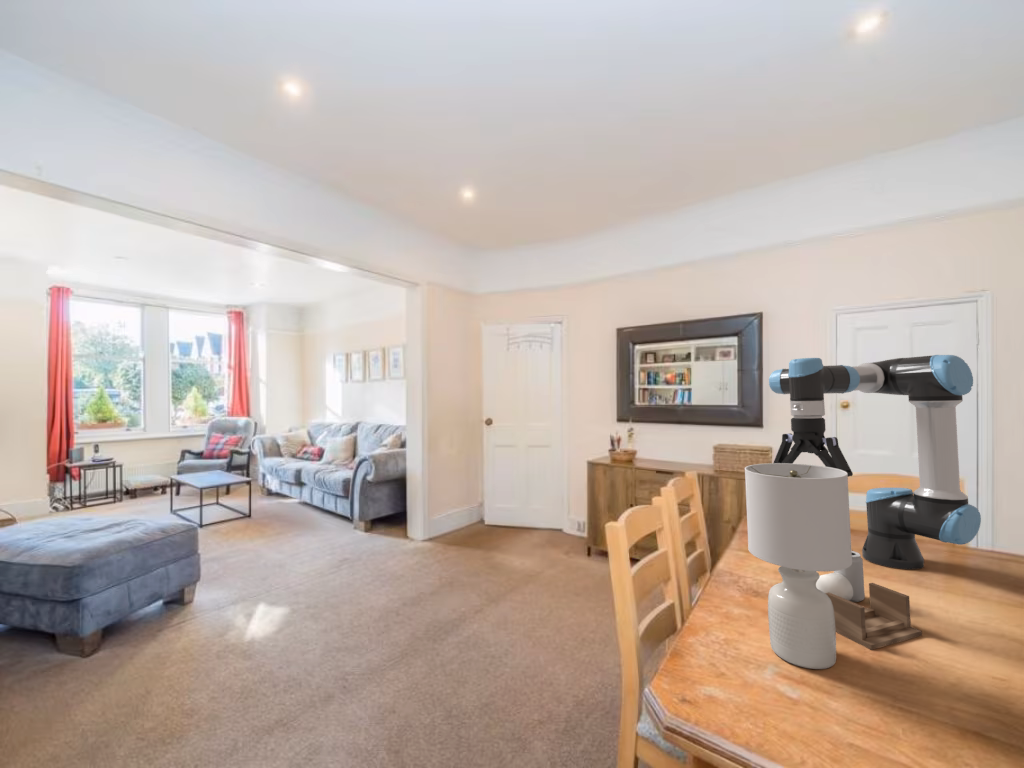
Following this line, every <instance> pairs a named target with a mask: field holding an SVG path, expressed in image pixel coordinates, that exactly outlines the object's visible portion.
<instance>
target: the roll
mask: <svg viewBox="0 0 1024 768" xmlns="http://www.w3.org/2000/svg"><path fill="white" fill-rule="evenodd" d="M819 575H820V574H819ZM816 587H817V589H819V590H821V591H823V592H824V593H825V594H826V593H828V592H830V593H832V594H834V595H837V596H839V597H842V598H844V599H846V600H851V599H852V597H853V588H852V586H851V584H850V582H849V581H848V579H847V578H846V577H844V576H843V575H841V574H839V573H834V572H831V573H825V574H821V575H820V577H819V579H818V580H817V582H816Z"/></svg>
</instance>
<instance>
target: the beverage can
mask: <svg viewBox="0 0 1024 768" xmlns="http://www.w3.org/2000/svg"><path fill="white" fill-rule="evenodd" d="M851 551H852V565H851V566H850V567H848V568H846V569H843V570H838V571H833V573H839V574H841V575H843V576H844V577H846V578H847V579H848V581H849V582H850V584H851V586H852V588H853V597H852V599H851V600H849V601H851V602H853V603H858V602H861V601H863V600H865V596H866V595H865V579H864V578H865V577H864V560H863V558H862V556H861V553H859V552H857V551H854V550H851Z"/></svg>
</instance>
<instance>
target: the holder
mask: <svg viewBox="0 0 1024 768" xmlns="http://www.w3.org/2000/svg"><path fill="white" fill-rule="evenodd" d="M868 590H869V591H868V592H869V608H868V607H865V606H863V605H860V604H858V603H857V602H852V601H849V600H846V599H844V598H842V597H839V596H837V595H834V594H832V593H830V592H828V593H826V594H827V595H828V597H829V598H830V599H831V601H832V604H833V608H834V615H835V626H836V634H839V635H841V636H843V637H845V638H847V639H849V640H850V641H853V642H855V643H857V644H859V645H861V646H863V647H865V648H867V649H868V650H876V649H880V648H883V647H887V646H889V645H894V644H896V643H900V642H903V641H904V642H905V641H907V640H910V639H915V638H917V637H922V636H923V633H922V630H920V629H918V628H915V627H913V626H912V624H911V623H912V621H911V604H910V603H911V601H910V595H908V594H905V593H901V592H899V591H896V590H894V589H891V588H888V587H885V586H883V585H880V584H877V583H875V582H870V583H868Z"/></svg>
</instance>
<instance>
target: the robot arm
mask: <svg viewBox="0 0 1024 768" xmlns="http://www.w3.org/2000/svg"><path fill="white" fill-rule="evenodd" d="M768 385H769V388H770V389H771V391H772V392H773V393H775V394H778V395H780V394H781V395H789V396H790V397H789V402H790V403H789V405H790V416H792V418H790V427H791V429H790V431H791V432H792V433H793V434H792V433H783V434H782V435H781V444H780V446H779V448H778V451H777V453H776V456H775V458H774V460H773V462H772V463H788V464H794V462H795V461H796V460H797V459H798V458H799V456H800V455H801V453H808V454H814V455H815V456H817V457H818V458H819V460H820V461H821V462H822V464H823V465H824V466H825V467H831V468H836V469H840V470H843V471H845V472H847V473H848V478H849V477H852V476H853V471H852V469H851V467H850V465H849V463H848V461H847V460H846V458H845V456H844V454H843V452H842V450H841V448H840V446H839V439H838V437H835V436H830V437H826V436H825V432H826V419H825V418H824V416H825V415H826V409H825V407H826V406H825V394H845V393H851V392H853V391H859V392H862V393H864V394H884V395H894V396H895V395H896V396H907V397H908V403H910V404H912V405H913V406H914V407H915V418H916V436H917V439H916V440H917V454H918V455H917V456H918V476H919V478H918V479H919V486H918V488H916V489H915V490H912V489H911V488H905V487H875V488H871V489H868V490H867V492H866V495H865V496H866V497H865V504H866V520H867V521H866V522H867V535H866V538H865V541H864V544H863V547H862V548H861V554H862V557H863V558H862V559H864V560H866V561H868V562H870V563H872V564H876V565H879V566H884V567H886V568H893V569H899V570H919V569H923V568H924V567H925V559H924V556H923V554H922V552H921V550H920V547H919V545H918V543H917V540H916V536H919V537H920V536H921V537H925V538H929V539H931V540H932V539H933V540H936V541H940V542H943V543H949V544H954V545H957V546H959V545H960V546H961V545H966V544H969V543H970V542H972V540H974V539H975V537H976V536H977V535H978V533H979V531H980V528H981V523H982V517H981V513H980V511H979V508H977V507H976V506H974V505H972V504H970V503H969V495H966V493H964V492H963V491H961V483H960V482H961V481H960V480H961V479H960V463H959V461H960V460H959V446H958V445H959V444H958V428H957V427H958V426H957V410H956V407H957V406H958V405H959V404H960V403H962V402H963V396H965V395H967V394H970V392H971V391H972V389H973V388H972V387H973V386H974V377H973V373H972V369H971V368H970V366H969V365H968V363H966V361H965V360H964V359H963V358H961V357H959V356H958V355H955V354H934V355H924V356H912V357H899V358H898V357H897V358H892V359H891V358H890V359H885V360H880V361H875V362H874V361H873V362H864V363H861V364H859V365H856V366H850V365H844V364H838V365H837V364H836V365H835V364H834V365H824V364H823V359H821V358H820V357H805V358H794V359H791V360H790V361H789V362H788V368H781V369H776V370H773V371H772V372H771V374H770V376H769V378H768ZM793 443H794V444H793Z"/></svg>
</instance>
